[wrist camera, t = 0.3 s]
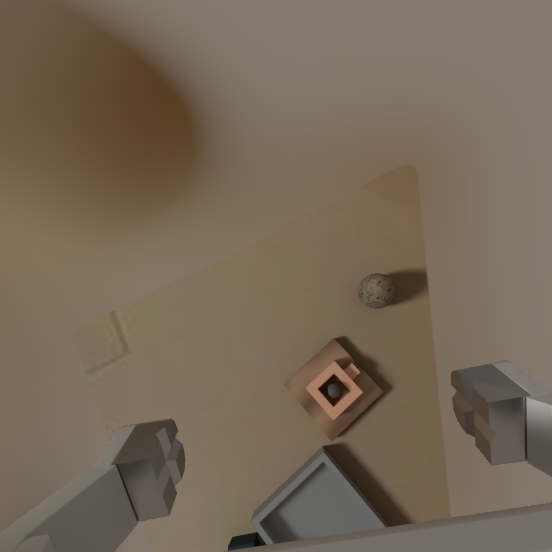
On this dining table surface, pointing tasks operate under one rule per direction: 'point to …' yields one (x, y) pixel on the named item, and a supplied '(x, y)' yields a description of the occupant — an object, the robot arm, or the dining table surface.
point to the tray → (315, 505)
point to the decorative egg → (376, 291)
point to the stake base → (315, 406)
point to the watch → (244, 541)
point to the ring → (346, 378)
